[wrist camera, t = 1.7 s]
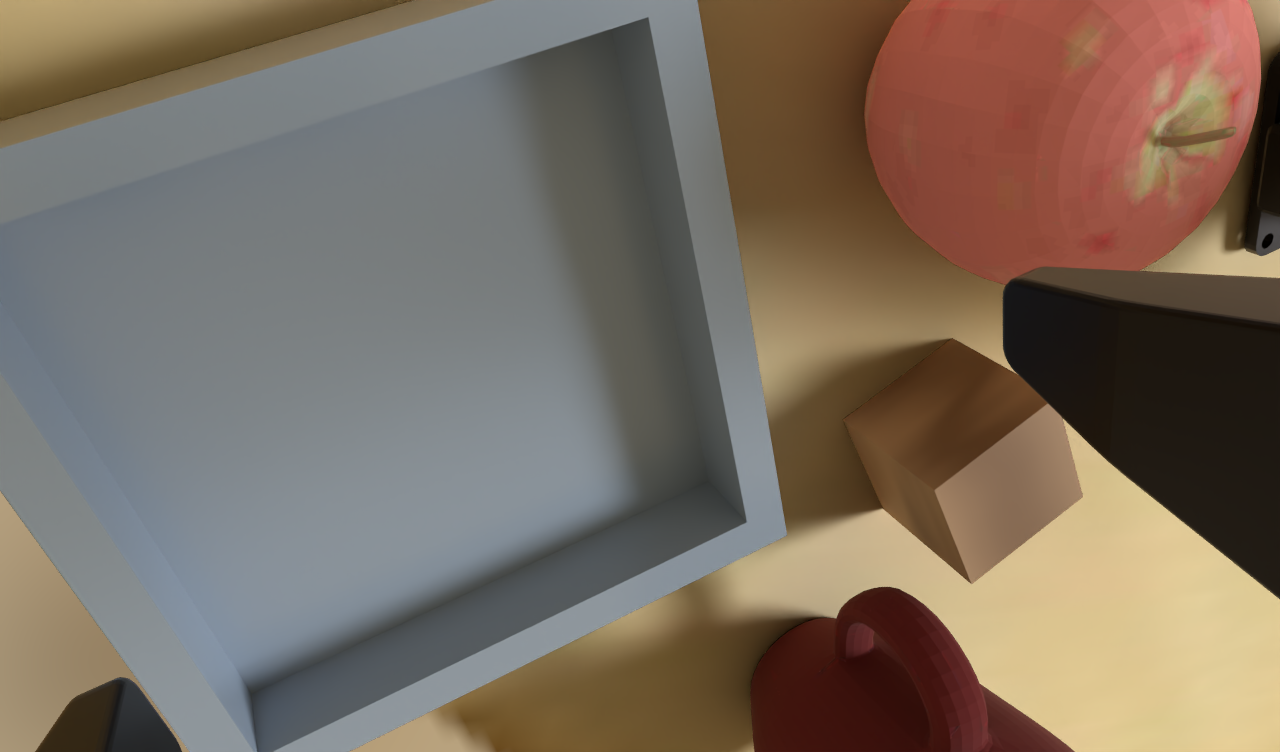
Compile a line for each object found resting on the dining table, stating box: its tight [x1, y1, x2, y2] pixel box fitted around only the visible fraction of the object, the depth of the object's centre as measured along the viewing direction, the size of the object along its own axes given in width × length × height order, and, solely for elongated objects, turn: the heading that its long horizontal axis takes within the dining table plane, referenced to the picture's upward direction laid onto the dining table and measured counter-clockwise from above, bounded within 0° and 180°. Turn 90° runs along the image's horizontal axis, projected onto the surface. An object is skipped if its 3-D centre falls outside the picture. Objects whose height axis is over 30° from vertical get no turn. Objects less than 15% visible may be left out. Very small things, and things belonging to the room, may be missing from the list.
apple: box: [864, 0, 1261, 285], centre depth 20 cm, size 7×7×8 cm
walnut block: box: [843, 338, 1083, 584], centre depth 27 cm, size 4×4×4 cm
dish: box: [0, 0, 787, 752], centre depth 20 cm, size 14×14×3 cm
